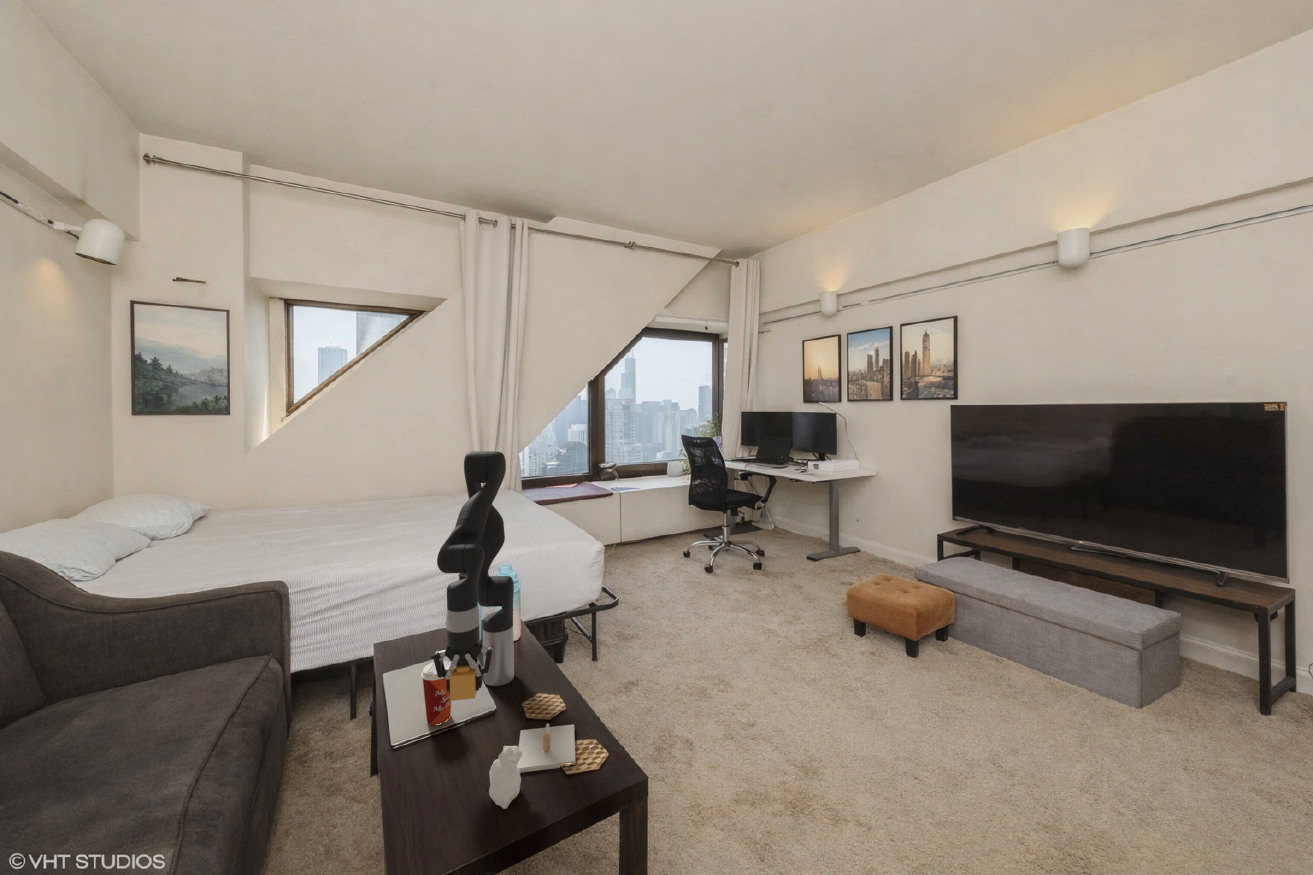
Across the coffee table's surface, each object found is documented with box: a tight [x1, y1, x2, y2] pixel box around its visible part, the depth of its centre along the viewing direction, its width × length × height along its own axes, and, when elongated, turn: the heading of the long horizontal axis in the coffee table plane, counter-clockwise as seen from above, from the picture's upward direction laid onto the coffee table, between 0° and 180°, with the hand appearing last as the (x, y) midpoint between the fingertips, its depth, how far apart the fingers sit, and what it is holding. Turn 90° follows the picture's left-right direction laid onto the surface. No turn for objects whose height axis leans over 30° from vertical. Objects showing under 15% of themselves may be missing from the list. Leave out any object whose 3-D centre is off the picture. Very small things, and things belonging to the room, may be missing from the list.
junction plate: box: [517, 723, 576, 774], centre depth 127 cm, size 15×14×6 cm
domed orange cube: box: [450, 665, 478, 702], centre depth 123 cm, size 6×6×7 cm
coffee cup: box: [420, 660, 452, 726], centre depth 139 cm, size 8×8×15 cm
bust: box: [488, 745, 522, 810], centre depth 113 cm, size 12×8×11 cm
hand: (464, 689), depth 123 cm, fingers closed on domed orange cube, 5 cm apart
